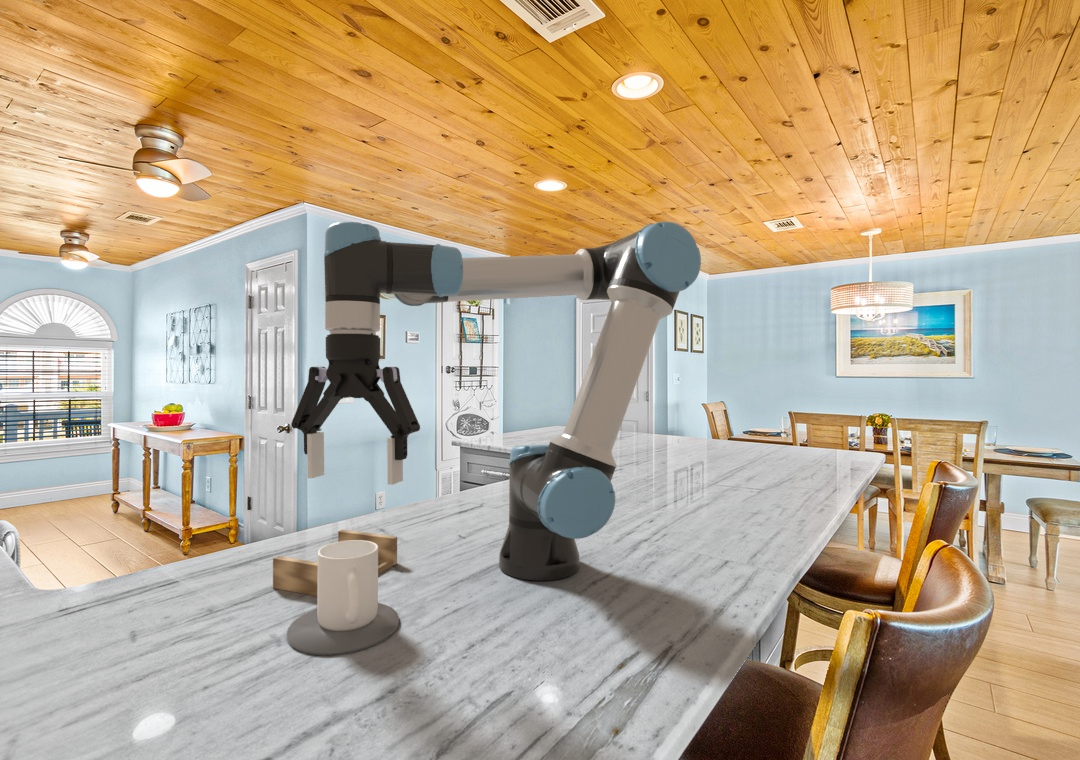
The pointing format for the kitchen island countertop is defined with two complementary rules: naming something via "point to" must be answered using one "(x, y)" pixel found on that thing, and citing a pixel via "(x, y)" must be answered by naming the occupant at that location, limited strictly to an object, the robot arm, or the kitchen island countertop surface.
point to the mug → (347, 585)
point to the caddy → (305, 573)
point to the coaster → (340, 634)
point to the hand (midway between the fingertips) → (354, 479)
